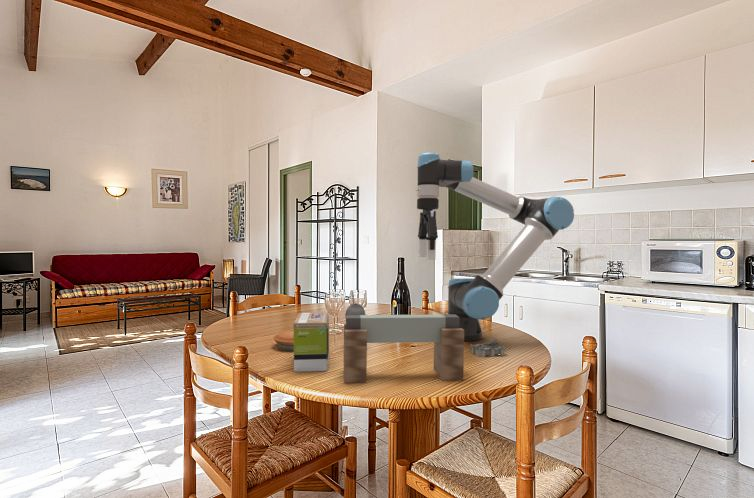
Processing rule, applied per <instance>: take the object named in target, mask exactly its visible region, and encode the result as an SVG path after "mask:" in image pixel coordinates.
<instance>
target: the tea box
mask: <svg viewBox="0 0 754 498" xmlns="http://www.w3.org/2000/svg"><path fill="white" fill-rule="evenodd" d="M292 330H293V332H294V351H293V371H294V372H296V373H298V372H300V373H301V372H302V373H303V372H304V373H305V372H307V373H308V372H327V371H328V366H329V361H330V359H329V357H330V319H329V312H328V311H327V312H325V311H324V312H298V313H297V315H296V319H295V320H294V322H293V329H292Z"/></svg>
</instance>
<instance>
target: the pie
mask: <svg viewBox="0 0 754 498" xmlns="http://www.w3.org/2000/svg"><path fill="white" fill-rule="evenodd" d="M272 338H273V340H274V341H275V342H276V344H277V346H278V348H279V349H281V350H284V351H291V352H292V351H293V352H294V332H293V329H289V330H283V331H280V332H278V333H277V334H275V335H274V336H273V337H272Z"/></svg>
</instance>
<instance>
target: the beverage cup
mask: <svg viewBox="0 0 754 498" xmlns="http://www.w3.org/2000/svg"><path fill="white" fill-rule="evenodd" d="M354 297H355V296H354V291H353V290H352V291H351V298H352V304H349V305H348V307H347V308H346V310H345V314H344V316H345V317H346V315H367V314H366V310H365V308H364V307H363V306H362V305H361V304H359V303H355V298H354Z"/></svg>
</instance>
